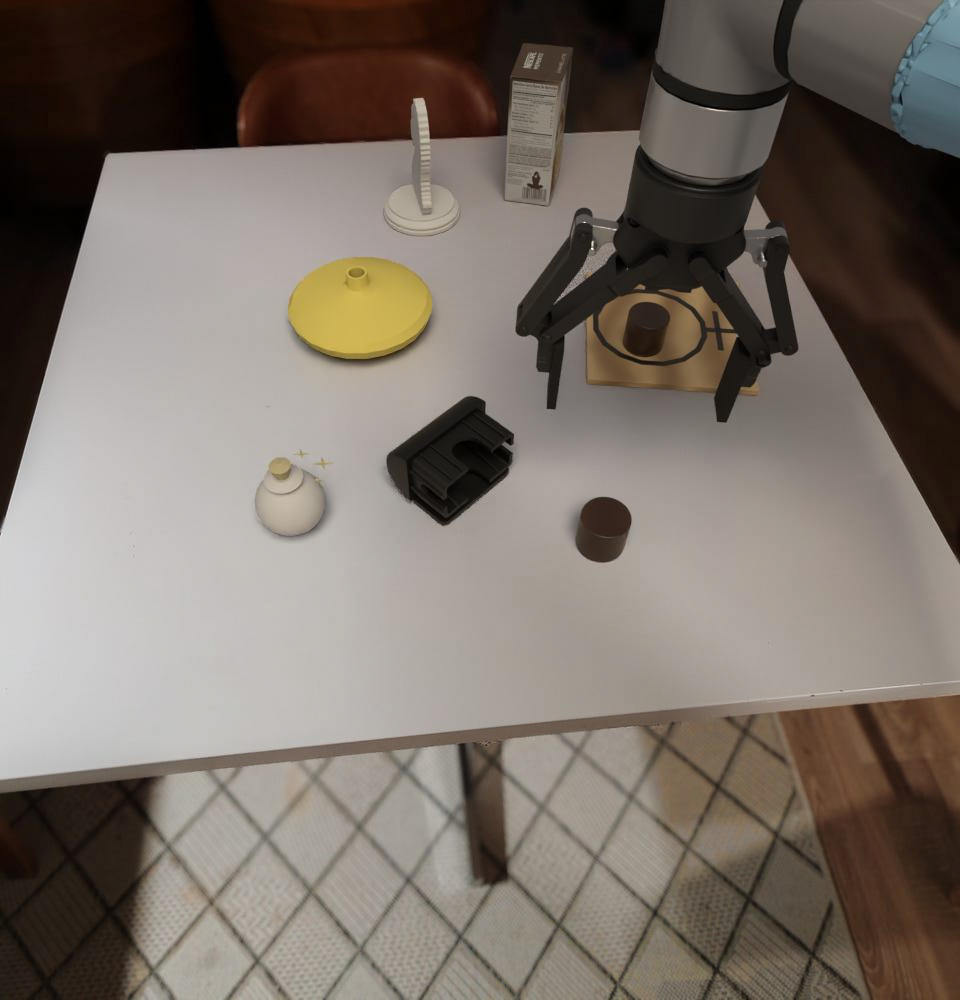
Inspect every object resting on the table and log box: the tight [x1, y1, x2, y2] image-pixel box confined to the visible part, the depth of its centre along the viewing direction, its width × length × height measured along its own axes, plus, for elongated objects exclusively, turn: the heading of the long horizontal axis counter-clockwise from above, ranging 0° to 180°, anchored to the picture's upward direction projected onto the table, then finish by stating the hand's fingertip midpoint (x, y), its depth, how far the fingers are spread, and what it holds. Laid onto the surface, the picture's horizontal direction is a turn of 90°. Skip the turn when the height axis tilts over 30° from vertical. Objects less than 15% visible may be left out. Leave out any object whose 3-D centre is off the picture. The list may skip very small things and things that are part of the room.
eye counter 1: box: [575, 496, 633, 564], centre depth 68 cm, size 4×4×4 cm
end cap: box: [385, 395, 515, 526], centre depth 71 cm, size 10×7×7 cm
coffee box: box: [503, 42, 574, 207], centre depth 97 cm, size 9×6×16 cm
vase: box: [286, 256, 433, 360], centre depth 83 cm, size 16×16×7 cm
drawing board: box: [584, 271, 761, 396], centre depth 86 cm, size 18×18×1 cm
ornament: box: [254, 448, 333, 537], centre depth 66 cm, size 6×7×10 cm
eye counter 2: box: [622, 302, 670, 357], centre depth 83 cm, size 4×4×4 cm
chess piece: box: [383, 97, 461, 237], centre depth 93 cm, size 10×10×15 cm
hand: (635, 404), depth 62 cm, fingers open, 13 cm apart
